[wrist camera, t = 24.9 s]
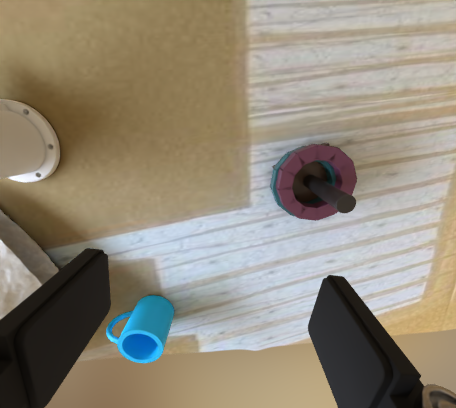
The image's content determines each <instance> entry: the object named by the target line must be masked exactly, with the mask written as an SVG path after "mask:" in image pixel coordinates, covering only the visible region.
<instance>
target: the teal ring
mask: <svg viewBox="0 0 456 408" xmlns="http://www.w3.org/2000/svg"><path fill="white" fill-rule="evenodd" d="M303 147H306V146H302V147H300V148H297V149H295V150H293V151H290V152H288V153H287V154H285V155H284V156H283V158H282V159H281V160H280V161H279V162H278V164H277V165H276V166H275V167H274V168H275V169H273V174H272V179H271V184H270V187H271V190H272V193H273V195H274V198H275V201H276V202H277V204H278V205H279V206H280V207H281V208H282V209H284V210H285V211H286V212H288V213H289V214H290V215H292V216H295V215H293V214H292V213H291V212H290V211H288V210H287V209H286V208H285V207H284V206H283V205H282V203H281V201H280V199H279V196H278V193H277V190H276V181H277V176H278V172H279V168H280V166H281V165H282V164H283V163H284V162H285V160H286V159H287V158H288V157H289V156H290V155H291V153H292V152H293V153H294V151H296V150H298V149H301V148H303ZM314 162H318V163H320V164H321V165H322V166H323V167H324V168H325V171H326V175H327V183H329V184H331V185H333V186H334V185H335V182H336V176H335V172H334V168H333V167H332V166H331V165H330V164H329V163H328V162H327V161H322V160H316V161H314ZM322 200H323V199H321V198H320V197H319V196H318V197H317V198H316V199H313V200H310V201H308V202H301V203H308V204H314V203H317V202H320V201H322Z"/></svg>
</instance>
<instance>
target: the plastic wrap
mask: <svg viewBox="0 0 456 408" xmlns="http://www.w3.org/2000/svg"><path fill="white" fill-rule="evenodd" d="M9 216H10V215H9ZM9 216H7V217H6V215H4V213H3V212H2V211H1V210H0V320H1V319H2V318H3V317H4V316H6V315H7V314H8V313H9V312H10V311H12V310H13V309H14V308H15V307H16V306H18V305H19V304H20V303H21V302H22V301H24V300H25V299H26V298H27V297H28V296H30V295H31V294H32V293H33V292H35V291H36V290H37V289H38V288H39V287H41V286H42V285H43V284H44V283H45V282H47V281H48V280H49V279H50V278H51V277H53V276H54V275H55V274H56V273H57V272H59V270H58V269H59V268H57V267H55V265H54V264H55V263H52V262H51V260H50V259H49V257H48V256H47V255H48V254H45V253H44V251H42V250H41V248H40V246H39V247H38V245H37V244H36V243H37V242H35V241H34V240H33V239H32V238H30V236H28V234H26V232H25V231H24V230H23V229H21V228H20V227H19V225H17V224H16V223H14V222H12V221H11V220H10V219H8V218H9Z"/></svg>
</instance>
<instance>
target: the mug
mask: <svg viewBox="0 0 456 408" xmlns="http://www.w3.org/2000/svg"><path fill="white" fill-rule="evenodd" d="M173 316H174V308H173V306H172V304H171V303H170V302H169V301H168V300H167V299H165V298H163V297H161V296H156V295H150V296H146V297H143V298H142V299H141V300H139V301H138V303H137V305H136V307H135V309H134V311H129V312H125V313H123V314H121V315H118V316H117V317H115V318H114V319H113V320H112V321H111V322H110V323H109V324H108V327H107V329H106V333H107V337H108V338H109V339H110V341H112V342H114V343H116V344H117V347H118V349H119V352H120V353H121V354H122V355H123V356H124V357H125V358H127V359H129V360H131V361H134V362H138V363H149V362H152V361H155V360H157V359H158V358H159V357H160V356H161V354H162V353H163V350H164V346H165V343H166V340H167V336H168V333H169V330H170V326H171V323H172V320H173ZM127 317H130V318H129V320H128V322H127V324H126V326H125V328H124V330H123V331H122V333H121V335H120V337H119V338H118V337H115V336H114V335H113V334H112V328H113V327H114V325H115V324H116V323H118V322H119V321H120V320H122V319H125V318H127Z"/></svg>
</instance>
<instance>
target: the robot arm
mask: <svg viewBox="0 0 456 408" xmlns="http://www.w3.org/2000/svg"><path fill="white" fill-rule="evenodd" d="M59 159H60V146H59V141H58V139H57V136H56V133H55V132H54V130H53V128H52V126H51V125H50V124H49V122H48V121H47V120H46V119H45V118H44V117H43V116H42V115H41V114H40V113H39V112H38V111H36V110H35V109H33V108H32V107H30V106H28V105H26V104H24V103H21V102H18V101H14V100H7V99H0V179H3V178H9V179H12V180H15V181H19V182H27V183H28V182H36V181H40V180H43V179H45V178H47V177H49V176H50V175H51V174H52V173H53V172H54V171H55V170H56V168H57V166H58V163H59ZM110 306H111V300H110V285H109V269H108V256H107V254H104V251H103V250H99V249H90V248H87V249H85V250H84V251H83V252H82V253H80V254H79V255H78V256H77V257H76V258H74V259H73V260H72V261H71V262H69V263H68V264H67V265H66V266H65V267H63V268H62V269H61V270H60V271H59V272H57V273H56V274H55V275H54V276H53V277H51V278H50V279H49V280H48V281H47V282H45V283H44V284H43V285H42V286H41V287H39V288H38V289H37V290H36V291H35V292H33V293H32V294H31V295H30V296H28V297H27V298H26V299H25V300H24V301H22V302H21V303H20V304H19V305H18V306H16V307H15V308H14V309H13V310H12V311H10V312H9V313H8V314H7V315H6V316H4V317H3V318H2V319H1V320H0V408H44V407H45V406H46V405H47V404H48V403H49V401H50V400H51V398H52V397H53V395H54V394H55V392H56V391H57V389H58V388H59V386H60V385H61V383H62V382H63V380H64V379H65V377H66V376H67V374H68V373H69V371H70V370H71V368H72V367H73V365H74V364H75V362H76V361H77V359H78V358H79V356H80V355H81V353H82V352H83V350H84V349H85V347H86V346H87V344H88V343H89V341H90V340H91V338H92V336H93V335H94V333H95V332H96V330H97V329H98V327H99V326H100V324H101V323H102V321H103V320H104V318H105V317H106V315H107V314H108V312H109V310H110ZM308 331H309V335H310V337H311V340H312V342H313V344H314V347H315V350H316V352H317V355H318V357H319V360H320V362H321V365H322V368H323V370H324V372H325V375H326V378H327V380H328V383H329V385H330V388H331V390H332V393H333V396H334V398H335V401H336V403H337V405H338V408H456V394H455V393H453V392H452V391H450V390H448V389H446V388H444V387H441V386H438V385H433V384H430V385H429V384H428V385H426V386H424V385H423V384H422V383H421V381H420V380H419V379H420V377H421V375H420V374H419V372H418V371H417V370H416V369H415V367H414V366H413V365H412V363H411V362H410V361H409V360H408V358H407V357H406V356H405V354H404V353H403V352H402V351H401V349H400V348H399V347H398V346H397V344H396V343H395V342H394V340H393V339H392V338H391V337H390V335H389V334H388V333H387V331H386V330H385V329H384V328H383V326H382V325H381V324H380V322H379V321H378V320H377V319H376V317H375V316H374V315H373V314H372V312H371V311H370V310H369V308H368V307H367V306H366V305H365V303H364V302H363V301H362V299H361V298H360V297H359V296H358V294H357V293H356V292H355V290H354V289H353V288H352V287H351V285H350V284H349V283H348V282H347V280H346V279H345V278H344V277H342V276H333V275H329V276H328V277H327V278H324V279H323V281H322V284H321V287H320V290H319V293H318V297H317V300H316V303H315V306H314V309H313V312H312V315H311V318H310V321H309V324H308Z"/></svg>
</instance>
